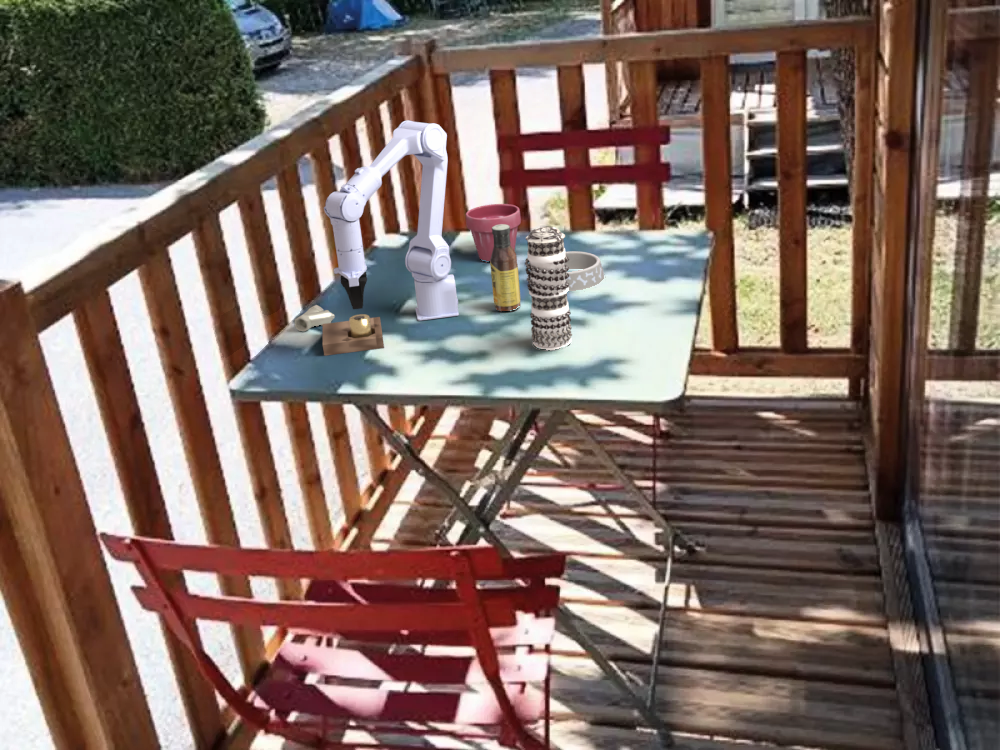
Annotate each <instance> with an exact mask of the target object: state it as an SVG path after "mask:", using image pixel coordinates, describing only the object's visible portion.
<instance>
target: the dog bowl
mask: <svg viewBox="0 0 1000 750" xmlns="http://www.w3.org/2000/svg"><path fill="white" fill-rule="evenodd" d="M565 252H566V253H565V256H567V257H568V258H569V261H568V262H566V263H564V264H565V265H566V266H568V267H569V269H583V270H578V271H572V272H566V273H568V274H569V277H568V278H567V279H566V280H565V281H566V282H568V283H569V286H568V287H569V291H576V290H583V289H586V288H590V287H592V286H595V285H597V284H599V283H600V282H601V281H602V280H603V279H604V275H605V272H604V269H603V266H602V262H601V259H600V258H599V256H597V254H593V253H590V252H586V251H577V250H576V251H572V250H571V251H565Z"/></svg>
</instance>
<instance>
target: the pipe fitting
mask: <svg viewBox="0 0 1000 750" xmlns="http://www.w3.org/2000/svg"><path fill="white" fill-rule="evenodd" d="M335 317H336V316H335V314H334V313H332V312H330V311H329V310H328V309H325V310H324V309H323V308H322V307H321V306H319V305H317V304H315V305H313V306H311V307H310V308H308V309H307V311H306V312H304V313H303V314H302V315H300V316H297V317H296V318H294V327H295V329H296V330H297V331H299V332H300V331H304V332H307V331H308V330H310V329H311V328H315V327H314V326H316V327H320V326H319V325H321V326H323V324H328V323H332V321H333V320H334V319H335Z"/></svg>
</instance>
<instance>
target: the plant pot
mask: <svg viewBox="0 0 1000 750" xmlns="http://www.w3.org/2000/svg"><path fill="white" fill-rule="evenodd" d="M520 210H521V209H520V207H518V206H516V205H514V204H510V203H509V204H508V203H493V204H492V203H491V204H485V205H481V206H480V205H479V206H477V207H473V208H471V209H469V210H468V211H467V212H466V213H465V222H466V223H465V224H466V228H467V229H468V230H469V231H470V232H471V236H472V239H473V242H474V246H475V249H476V251H477V254H478V258H479V260H480V259H482V260H486V261H490V259H491V255H492V251H493V247H494V238H493V234H492V227H493V226H496V225H500V224H506V225H509V226H510V242H511V244H510V245H511V247H512V248H513V249H514V251H515V252H516V249H515V248H516V243H517V235H518V229H519V228H518V227H519V226H520V225H521V223H522V222H521V221H522V219H521V211H520Z"/></svg>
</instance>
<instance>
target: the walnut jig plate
mask: <svg viewBox="0 0 1000 750" xmlns="http://www.w3.org/2000/svg"><path fill="white" fill-rule="evenodd" d="M369 318H370V325H371V332H372V335H371V336H369V337H362V338H352V335H351V328H350V321H349V320H345V321H344V320H343V321H336V322H331V323H328V324H323V325H322V349H323V356H326V357H327V356H332V355H341V354H349V353H356V352H363V351H364V352H365V351H371V350H377V349H379V350H380V349H384V348H385V343H384V338H383V331H382V323H381V322H382V321H381V317H380V316H377V317H369Z"/></svg>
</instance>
